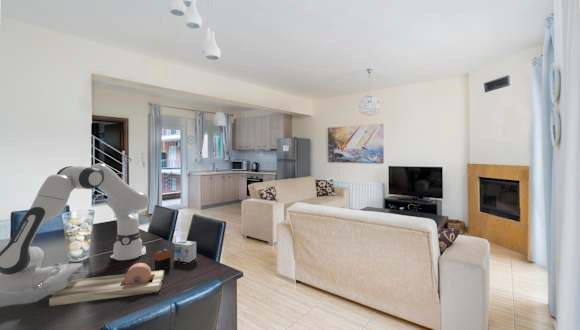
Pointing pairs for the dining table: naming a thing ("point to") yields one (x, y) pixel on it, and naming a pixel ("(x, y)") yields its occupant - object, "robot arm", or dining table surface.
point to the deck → (104, 288)
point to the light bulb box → (185, 251)
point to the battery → (162, 259)
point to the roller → (138, 274)
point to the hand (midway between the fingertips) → (86, 274)
